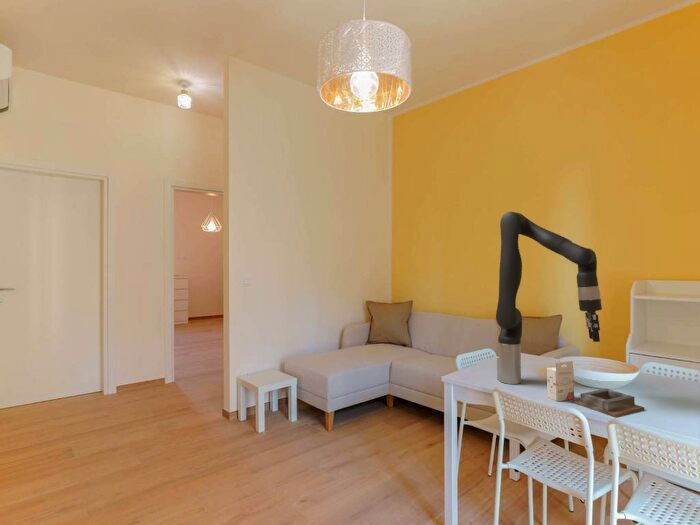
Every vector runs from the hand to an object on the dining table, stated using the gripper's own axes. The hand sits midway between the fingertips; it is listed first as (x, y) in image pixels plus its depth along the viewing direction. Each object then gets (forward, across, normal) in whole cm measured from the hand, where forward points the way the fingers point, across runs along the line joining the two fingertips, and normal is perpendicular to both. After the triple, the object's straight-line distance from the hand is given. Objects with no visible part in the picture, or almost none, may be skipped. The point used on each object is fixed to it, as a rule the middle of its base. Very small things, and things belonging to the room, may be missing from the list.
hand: (594, 340), depth 154 cm
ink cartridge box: (+22, +4, -14) cm, 26 cm away
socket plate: (+23, +7, 0) cm, 24 cm away
